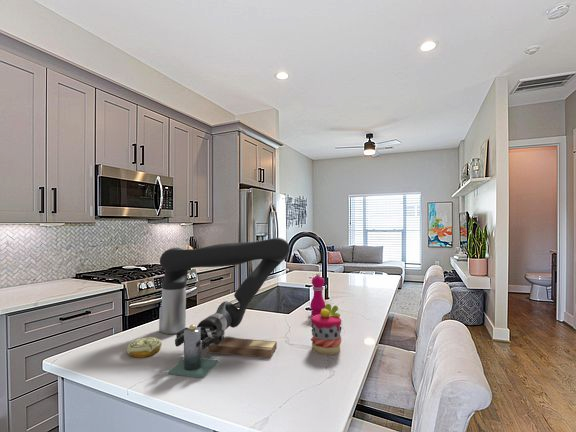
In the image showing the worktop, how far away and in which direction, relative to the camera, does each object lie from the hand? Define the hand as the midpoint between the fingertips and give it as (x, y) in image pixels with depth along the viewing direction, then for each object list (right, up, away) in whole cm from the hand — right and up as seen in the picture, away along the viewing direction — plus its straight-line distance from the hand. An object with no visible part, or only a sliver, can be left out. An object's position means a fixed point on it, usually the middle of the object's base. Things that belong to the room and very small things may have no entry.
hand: (189, 344), depth 97 cm
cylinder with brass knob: (0, -7, +2) cm, 8 cm away
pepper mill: (+43, -10, +61) cm, 75 cm away
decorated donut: (-20, -9, +15) cm, 26 cm away
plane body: (+13, -9, +17) cm, 23 cm away
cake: (+42, -9, +18) cm, 47 cm away
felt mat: (0, -8, +3) cm, 9 cm away
